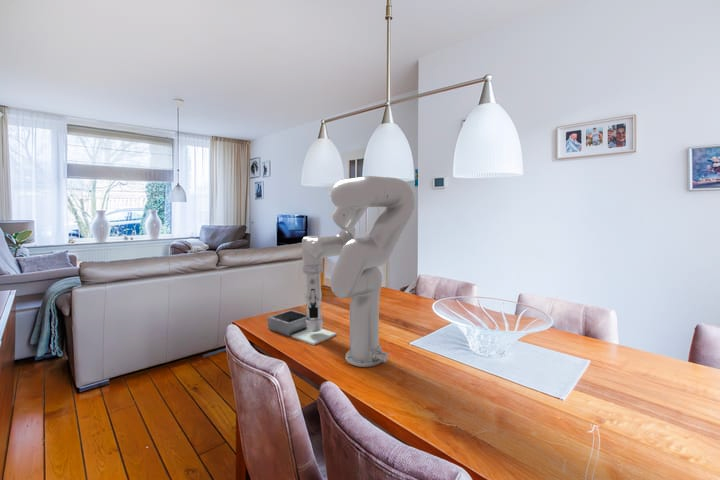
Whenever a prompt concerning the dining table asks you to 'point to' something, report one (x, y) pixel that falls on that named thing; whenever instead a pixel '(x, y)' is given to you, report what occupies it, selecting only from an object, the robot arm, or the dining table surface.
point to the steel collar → (287, 322)
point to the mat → (313, 336)
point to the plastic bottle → (313, 323)
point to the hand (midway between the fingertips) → (313, 314)
